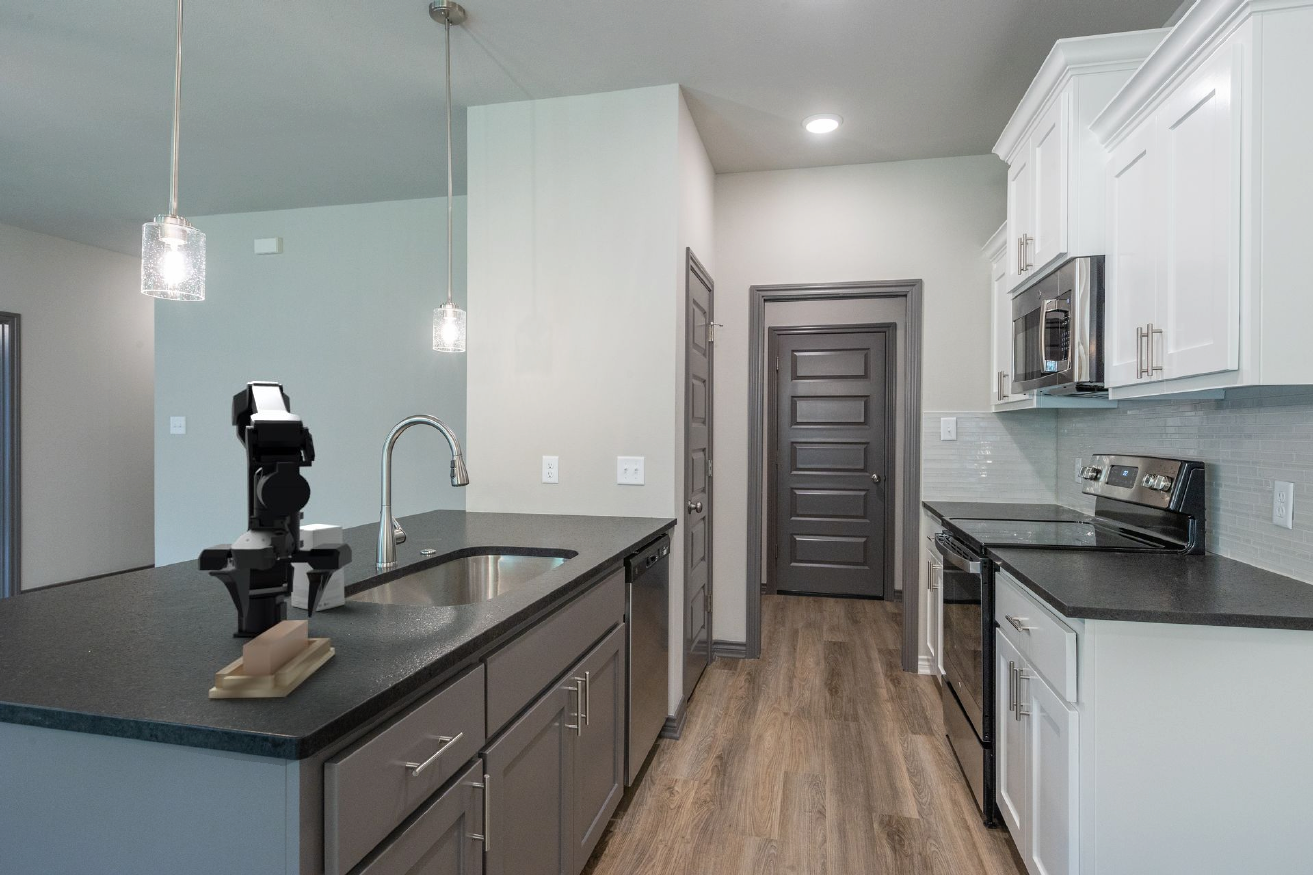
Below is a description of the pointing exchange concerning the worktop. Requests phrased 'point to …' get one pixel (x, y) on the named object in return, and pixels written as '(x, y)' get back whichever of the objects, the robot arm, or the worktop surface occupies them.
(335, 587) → the skincare box
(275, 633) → the clay bar
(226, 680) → the tray
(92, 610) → the worktop surface
